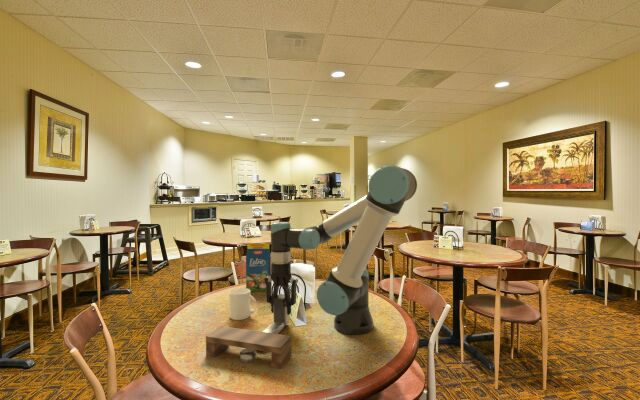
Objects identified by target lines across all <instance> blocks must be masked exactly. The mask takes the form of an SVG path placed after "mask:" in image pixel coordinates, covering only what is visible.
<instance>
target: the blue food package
mask: <svg viewBox="0 0 640 400" xmlns="http://www.w3.org/2000/svg"><path fill="white" fill-rule="evenodd" d="M246 245H247V246H246V248H247V249H246V253H245V284H246V285H245V288H246V289H250V292H266V283H265V280H264V279H265V278H266V277H268V276H271V274H272V272H271V249H270V244H269V243H247V244H246Z"/></svg>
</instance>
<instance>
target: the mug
mask: <svg viewBox="0 0 640 400" xmlns="http://www.w3.org/2000/svg"><path fill="white" fill-rule="evenodd" d="M228 293H229V318H230V319H231V320H233V321H242V320H246V319H248V318H250V316H251V315H253V314H255V313H256V311H257V308H258V303H257V300H256V298H255V297H254V296H253V295H251V293H252V292H251V291H250V289H246V287H244V288H235V289H232V290H230V291H229V292H228ZM252 301H253V302H254V303H255V308H254V309H251V307H252V306H251V303H252Z"/></svg>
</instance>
